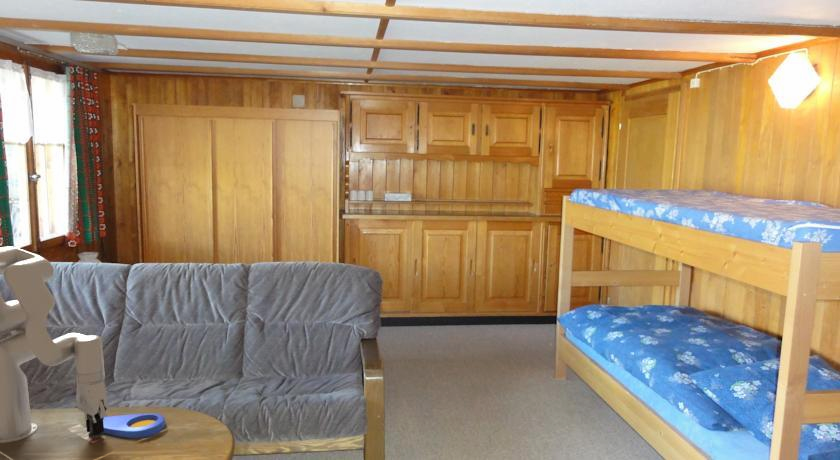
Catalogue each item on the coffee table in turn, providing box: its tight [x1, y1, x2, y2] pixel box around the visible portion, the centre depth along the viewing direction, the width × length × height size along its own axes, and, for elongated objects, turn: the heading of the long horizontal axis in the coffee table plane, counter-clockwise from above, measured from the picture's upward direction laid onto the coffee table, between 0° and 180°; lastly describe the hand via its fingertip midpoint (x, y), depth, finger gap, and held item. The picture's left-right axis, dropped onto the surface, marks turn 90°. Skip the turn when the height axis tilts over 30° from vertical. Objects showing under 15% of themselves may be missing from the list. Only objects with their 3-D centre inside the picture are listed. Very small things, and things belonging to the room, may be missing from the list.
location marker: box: [103, 412, 166, 439], centre depth 194 cm, size 13×3×25 cm
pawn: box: [88, 414, 104, 439], centre depth 186 cm, size 4×4×8 cm
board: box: [66, 424, 107, 444], centre depth 190 cm, size 17×5×1 cm, turn 56°
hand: (95, 431), depth 186 cm, fingers closed on pawn, 2 cm apart
